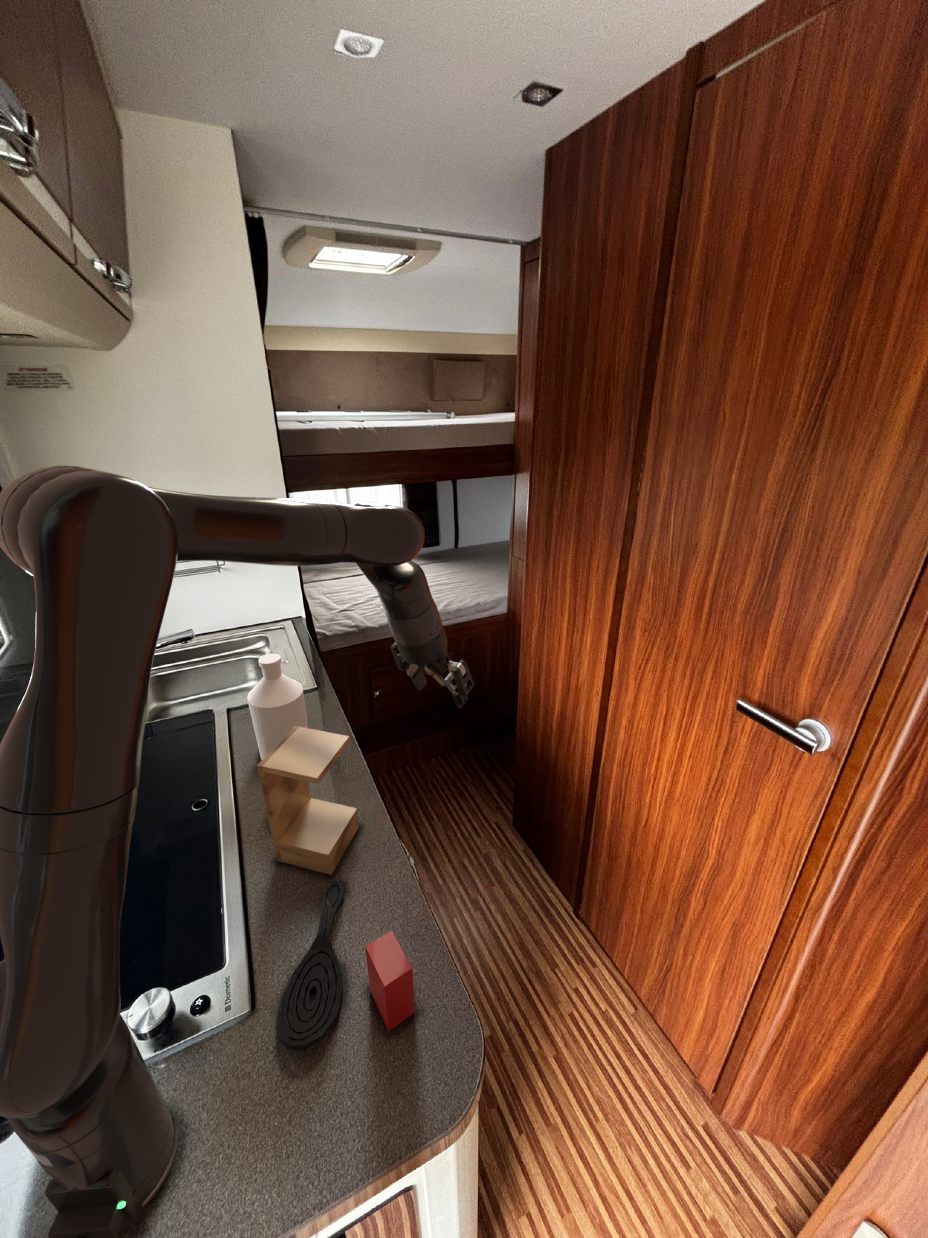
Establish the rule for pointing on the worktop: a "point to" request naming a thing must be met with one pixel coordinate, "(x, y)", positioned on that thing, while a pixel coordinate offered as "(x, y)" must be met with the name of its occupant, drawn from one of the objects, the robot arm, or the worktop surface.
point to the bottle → (275, 705)
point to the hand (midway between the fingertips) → (441, 695)
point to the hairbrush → (314, 984)
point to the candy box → (390, 979)
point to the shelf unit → (305, 800)
